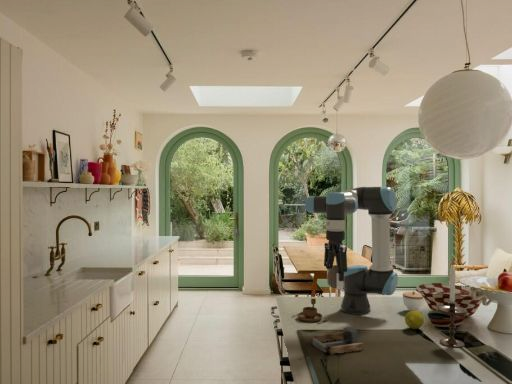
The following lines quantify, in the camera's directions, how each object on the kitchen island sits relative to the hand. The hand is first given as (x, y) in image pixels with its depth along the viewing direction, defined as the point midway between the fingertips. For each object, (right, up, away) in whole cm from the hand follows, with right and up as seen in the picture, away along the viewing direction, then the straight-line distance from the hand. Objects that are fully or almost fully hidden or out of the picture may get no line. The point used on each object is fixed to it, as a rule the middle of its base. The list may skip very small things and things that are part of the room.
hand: (335, 286), depth 172 cm
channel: (0, -23, -4) cm, 23 cm away
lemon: (+39, -23, +19) cm, 49 cm away
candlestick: (+47, -23, -1) cm, 53 cm away
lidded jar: (+50, -23, +49) cm, 74 cm away
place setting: (-3, -23, +37) cm, 44 cm away
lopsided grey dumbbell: (0, -23, -4) cm, 23 cm away
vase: (0, 0, 0) cm, 1 cm away
